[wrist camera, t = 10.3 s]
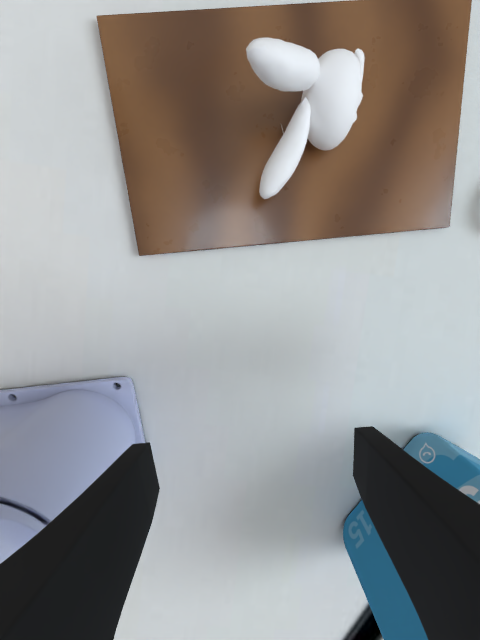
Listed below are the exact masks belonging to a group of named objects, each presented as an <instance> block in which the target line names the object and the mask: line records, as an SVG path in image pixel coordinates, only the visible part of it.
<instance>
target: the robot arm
mask: <svg viewBox="0 0 480 640" xmlns="http://www.w3.org/2000/svg"><path fill="white" fill-rule="evenodd" d="M115 383H119V384H120V386H121V387H117V386H116V385H115ZM13 394H14V395H15V396H16V397H17V398H15V397H14V396H13ZM353 477H354V479H355V482H356V485H357V487H358V490H359V493H360V496H361V498H362V501H363V503H364V506H365V508H366V510H367V512H368V514H369V517H370V519H371V521H372V523H373V525H374V527H375V529H376V531H377V533H378V535H379V537H380V539H381V541H382V543H383V545H384V547H385V549H386V551H387V553H388V555H389V557H390V559H391V561H392V563H393V565H394V567H395V569H396V571H397V573H398V575H399V577H400V579H401V581H402V583H403V585H404V587H405V589H406V590H407V593H408V595H409V597H410V599H411V601H412V603H413V605H414V608H415V610H416V612H417V614H418V616H419V619H420V621H421V623H422V626H423V628H424V631H425V633H426V635H427V638H428V640H480V504H479V503H477V502H476V501H474V500H473V499H471V498H470V497H468V496H467V495H465V494H464V493H462V492H461V491H459V490H458V489H456V488H455V487H453V486H452V485H451V484H449V483H448V482H446V481H445V480H443V479H442V478H441V477H439V476H438V475H436V474H435V473H434V472H432V471H431V470H429V469H428V468H427V467H425V466H424V465H423V464H421V463H420V462H419V461H417V460H416V459H415V458H413V457H412V456H411V455H409V454H408V453H407V452H405V451H404V450H403V449H401V448H400V447H399V446H397V445H396V444H395V443H394V442H392V441H391V440H390V439H388V438H387V437H386V436H384V435H383V434H382V433H381V432H379V431H378V430H376V429H375V428H374V427H359V428H355V431H354V462H353ZM159 489H160V488H159V483H158V479H157V474H156V469H155V465H154V460H153V455H152V451H151V446H150V443H145V438H144V433H143V428H142V423H141V418H140V414H139V409H138V404H137V399H136V394H135V389H134V385H133V381H132V379H131V378H129V377H116V378H107V379H98V380H88V381H79V382H70V383H61V384H51V385H42V386H33V387H24V388H15V389H5V390H0V640H113V639H114V635H115V631H116V628H117V625H118V621H119V618H120V615H121V612H122V608H123V605H124V603H125V600H126V597H127V594H128V591H129V588H130V585H131V582H132V579H133V576H134V573H135V571H136V568H137V565H138V562H139V559H140V556H141V553H142V550H143V547H144V544H145V541H146V538H147V535H148V532H149V529H150V526H151V523H152V520H153V516H154V511H155V507H156V503H157V498H158V493H159Z"/></svg>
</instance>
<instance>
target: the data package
mask: <svg viewBox="0 0 480 640" xmlns="http://www.w3.org/2000/svg"><path fill="white" fill-rule="evenodd" d="M403 450H404V451H405V452H407V453H408V454H409V455H411V456H412V457H413V458H415V459H416V460H417V461H419V462H420V463H421V464H423V465H424V466H425V467H427V468H428V469H429V470H431V471H432V472H434V473H435V474H436V475H438V476H439V477H441V478H442V479H443V480H445V481H446V482H448V483H449V484H451V485H452V486H453V487H455V488H456V489H458V490H459V491H461V492H462V493H464V494H465V495H467V496H468V497H470V498H471V499H473V500H474V501H476V502H477V503H479V504H480V459H478V458H477V457H475V456H473V455H471V454H470V453H468V452H466V451H464V450H463V449H461V448H459V447H458V446H456V445H454V444H452V443H451V442H449V441H447V440H445V439H444V438H442V437H440V436H438V435H436V434H433V433H421V434H419V435H417V436H415V437H414V438H413V439H412V440H411V441H410V442H409V443H408V445H407V446H406V447H405V448H404V449H403ZM343 538H344V544H345V547H346V549H347V552H348V554H349V557H350V559H351V561H352V564H353V566H354V569H355V571H356V574H357V576H358V578H359V581H360V583H361V586H362V588H363V590H364V593H365V595H366V598H367V600H368V602H369V605H370V607H371V610H372V612H373V615H374V617H375V619H376V622H377V624H378V627H379V629H380V631H381V634H382V636H383V639H384V640H428V638H427V635H426V633H425V631H424V628H423V626H422V623H421V621H420V619H419V616H418V614H417V612H416V610H415V608H414V605H413V603H412V601H411V599H410V597H409V595H408V593H407V590H406V589H405V587H404V585H403V583H402V581H401V579H400V577H399V575H398V573H397V571H396V569H395V567H394V565H393V563H392V561H391V559H390V557H389V555H388V553H387V551H386V549H385V547H384V545H383V543H382V541H381V539H380V537H379V535H378V533H377V531H376V529H375V527H374V525H373V523H372V521H371V519H370V517H369V514H368V512H367V510H366V508H365V506H364V503H363V501H362V500H361V501H360V502H359V504H358V505H357V506H356V507H355V508H354V510H353V511H352V512H351V513H350V514H349V516H348V517H347V519H346V521H345V524H344V529H343Z"/></svg>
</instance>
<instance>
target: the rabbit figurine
mask: <svg viewBox="0 0 480 640" xmlns="http://www.w3.org/2000/svg"><path fill="white" fill-rule="evenodd" d="M246 53H247V59H248V61H249V63H250V65H251V67H252V69H253V70H254V72H255V73H256V75H257V76H258V77H259V78H260V80H261V81H263V82H264V83H265V84H266V85H268V86H270V87H272V88H274V89H278V90H280V91H303V94H302V98H301V103H300V104H299V105H298V107H297V109H296V111H295V113H294V115H293V117H292V118H291V120H290V122H289V124H288V126H287V128H286V130H285V132H283V136H282V138H281V139H280V141H279V143H278V144H277V146H276V148H275V149H274V151H273V153H272V154H271V156H270V158H269V160H268V161H267V163H266V165H265V167H264V170H263V172H262V175H261V180H260V188H259V193H260V196H261V197H262V198H263V199H268V198H270V197H271V196H274V195H276V194H277V193H278V192H279V191H280V190H281V189H282V187H283V186H284V185H285V184H286V182H287V181H288V180H289V179H290V177H291V176H292V174H293V173H294V171H295V169H296V167H297V165H298V163H299V161H300V159H301V156H302V154H303V151H304V148H305V145H306V142H307V139H308V140H309V141H310V142H311V144H312V145H313V146H315V147H316V148H318V149H320V150H331V149H333V148H335V147H337V146H338V145H339V144H340V143H341V142H342V141H343V140H344V139H345V137H346V136H347V134H348V132H349V130H350V128H351V126H352V124H353V123H354V122H355V121H356V119H357V113H356V112H357V108H358V106H359V105H360V103H361V100H362V97H363V94H362V92H361V89H362V79H363V71H364V59H365V57H364V53H363V51H362V50H360V49H356V50H355V54H354V53H353V52H351V51H349V50H346V49H334V50H330V51H327V52H326V53H324V54H323V55H322V56H321V57H320V58H319V59H318V58H317V56H316V54H315V53H313V52H312V51H311V50H310V49H306V48H304V47H302V46H300V45H296V44H293V43H290V42H285V41H283V40H280V39H273V38H258V39H254V40H253V41H252V42H250V43H249V45H248V46H247V48H246ZM281 128H282V125H281ZM282 131H283V128H282Z"/></svg>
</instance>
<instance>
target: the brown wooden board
mask: <svg viewBox="0 0 480 640" xmlns="http://www.w3.org/2000/svg"><path fill="white" fill-rule="evenodd" d="M471 2H472V0H354V1H337V2H320V3H303V4H286V5H269V6H253V7H236V8H219V9H202V10H185V11H168V12H152V13H135V14H118V15H101V16H97V21H98V27H99V33H100V38H101V44H102V50H103V55H104V61H105V66H106V72H107V78H108V83H109V89H110V94H111V100H112V106H113V111H114V117H115V123H116V128H117V134H118V139H119V145H120V151H121V156H122V162H123V167H124V173H125V179H126V184H127V190H128V196H129V201H130V207H131V212H132V218H133V224H134V229H135V235H136V240H137V246H138V252H139V255H140V256H143V255H153V254H164V253H175V252H186V251H197V250H208V249H218V248H229V247H240V246H251V245H262V244H273V243H284V242H294V241H305V240H316V239H327V238H338V237H349V236H359V235H370V234H381V233H392V232H403V231H414V230H425V229H435V228H446V227H449V226H450V216H451V206H452V195H453V185H454V175H455V165H456V155H457V144H458V134H459V124H460V114H461V104H462V94H463V83H464V73H465V63H466V53H467V43H468V32H469V22H470V12H471ZM258 38H273V39H280V40H283V41H285V42H290V43H293V44H296V45H300V46H302V47H304V48H306V49H310V50H311V51H312V52H313V53H315V54H316V56H317V58H318V59H319V58H320V57H321V56H322V55H323V54H324V53H326V52H327V51H330V50H334V49H346V50H349V51H351V52H353V53H354V54H355V50H356V49H360V50H362V51H363V53H364V57H365V59H364V71H363V79H362V89H361V92H362V94H363V97H362V100H361V103H360V105H359V106H358V108H357V112H356V113H357V119H356V121H355V122H354V123H353V124H352V126H351V128H350V130H349V132H348V134H347V136H346V137H345V139H344V140H343V141H342V142H341V143H340V144H339V145H338V146H337V147H335V148H333V149H331V150H320V149H318V148H316V147H315V146H313V145H312V144H311V142H310V141H309V140H308V139H307V142H306V145H305V148H304V151H303V154H302V156H301V159H300V161H299V163H298V165H297V167H296V169H295V171H294V173H293V174H292V176H291V177H290V179H289V180H288V181H287V182H286V184H285V185H284V186H283V187H282V189H281V190H280V191H279V192H278V193H277V194H276V195H274V196H271V197H270V198H268V199H263V198H262V197H261V196H260V193H259V188H260V180H261V175H262V172H263V170H264V167H265V165H266V163H267V161H268V160H269V158H270V156H271V154H272V153H273V151H274V149H275V148H276V146H277V144H278V143H279V141H280V139H281V138H282V136H283V132H285V130H286V128H287V126H288V124H289V122H290V120H291V118H292V117H293V115H294V113H295V111H296V109H297V107H298V105H299V104H300V103H301V98H302V94H303V91H280V90H278V89H274V88H272V87H270V86H268V85H266V84H265V83H264V82H263V81H261V80H260V78H259V77H258V76H257V75H256V73H255V72H254V70H253V69H252V67H251V65H250V63H249V61H248V59H247V53H246V48H247V46H248V45H249V43H250V42H252V41H253V40H254V39H258ZM281 125H282V128H283V131H282V128H281Z"/></svg>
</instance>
